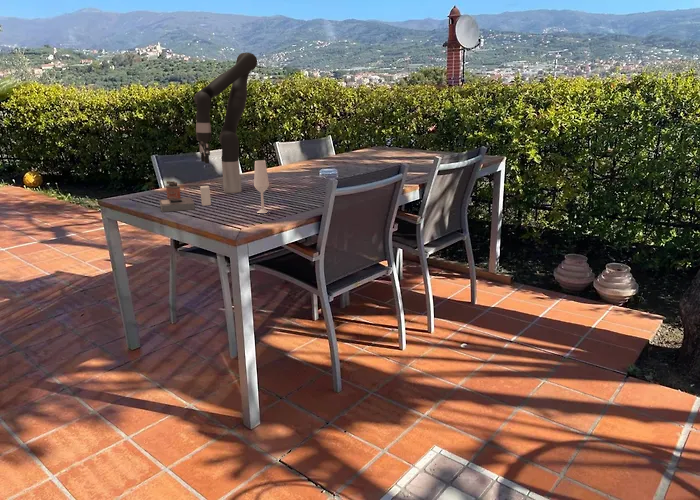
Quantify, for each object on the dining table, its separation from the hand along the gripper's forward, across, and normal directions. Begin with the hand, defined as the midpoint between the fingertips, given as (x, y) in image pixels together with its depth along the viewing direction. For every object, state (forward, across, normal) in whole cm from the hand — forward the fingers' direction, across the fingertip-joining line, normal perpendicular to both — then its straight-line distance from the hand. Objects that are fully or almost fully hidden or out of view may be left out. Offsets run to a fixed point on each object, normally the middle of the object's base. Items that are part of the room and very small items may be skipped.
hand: (205, 162), depth 273 cm
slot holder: (+18, -26, +20) cm, 37 cm away
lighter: (+18, -7, +18) cm, 27 cm away
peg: (+18, -25, +6) cm, 31 cm away
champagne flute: (+17, -56, -14) cm, 60 cm away
